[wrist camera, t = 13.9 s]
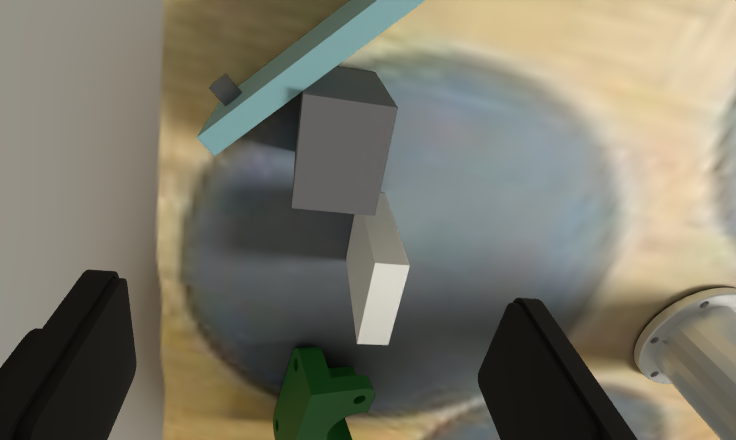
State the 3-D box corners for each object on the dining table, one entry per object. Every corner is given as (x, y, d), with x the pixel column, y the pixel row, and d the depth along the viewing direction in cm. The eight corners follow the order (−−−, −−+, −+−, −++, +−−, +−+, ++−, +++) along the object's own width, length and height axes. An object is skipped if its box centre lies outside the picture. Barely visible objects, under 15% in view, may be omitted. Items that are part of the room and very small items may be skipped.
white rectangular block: (464, -171, 22) (552, -248, 14) (370, 261, 35) (388, 347, 27) (427, -182, 22) (495, -266, 14) (346, 259, 35) (357, 346, 27)
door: (407, -16, 25) (438, -10, 19) (234, 114, 27) (214, 156, 21) (384, -57, 24) (410, -65, 18) (207, 83, 26) (177, 117, 20)
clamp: (323, 374, 47) (337, 467, 43) (269, 379, 45) (277, 479, 40) (367, 333, 39) (391, 444, 34) (303, 337, 36) (319, 458, 31)
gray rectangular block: (375, 72, 28) (397, 107, 21) (360, 159, 30) (375, 216, 24) (304, 61, 27) (303, 93, 20) (295, 151, 30) (291, 208, 23)
